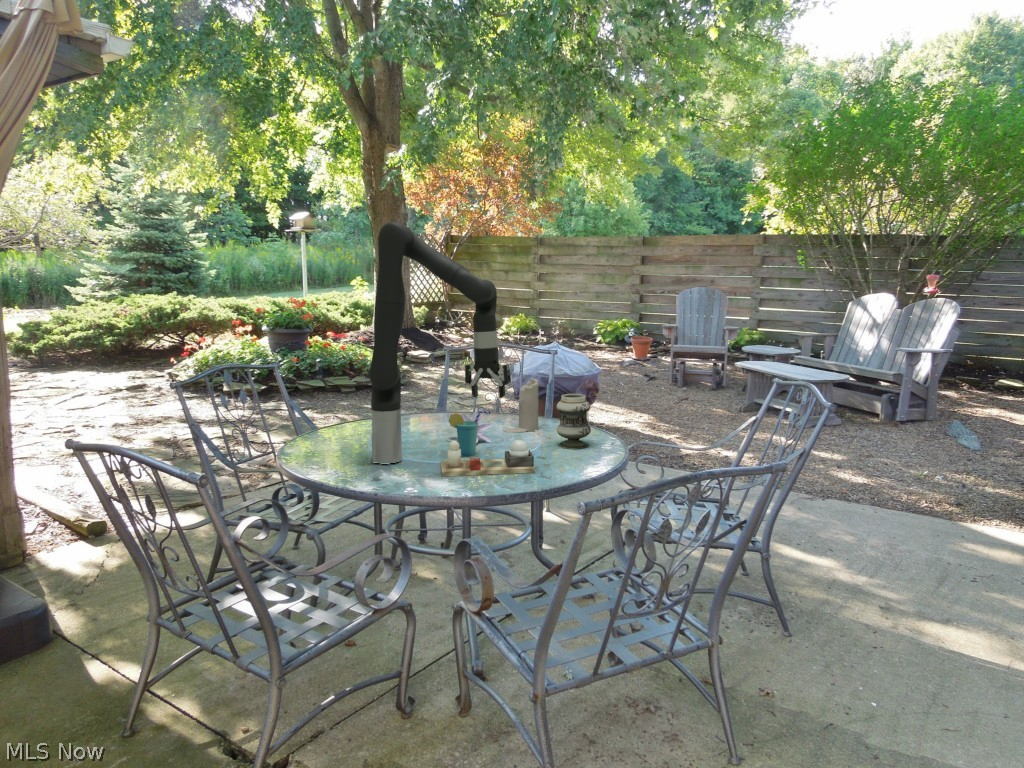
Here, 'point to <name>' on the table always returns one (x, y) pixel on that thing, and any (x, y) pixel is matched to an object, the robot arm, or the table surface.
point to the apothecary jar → (573, 420)
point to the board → (491, 466)
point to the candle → (528, 408)
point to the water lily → (480, 427)
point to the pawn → (454, 454)
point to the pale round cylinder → (519, 449)
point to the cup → (466, 432)
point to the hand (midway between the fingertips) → (488, 397)
